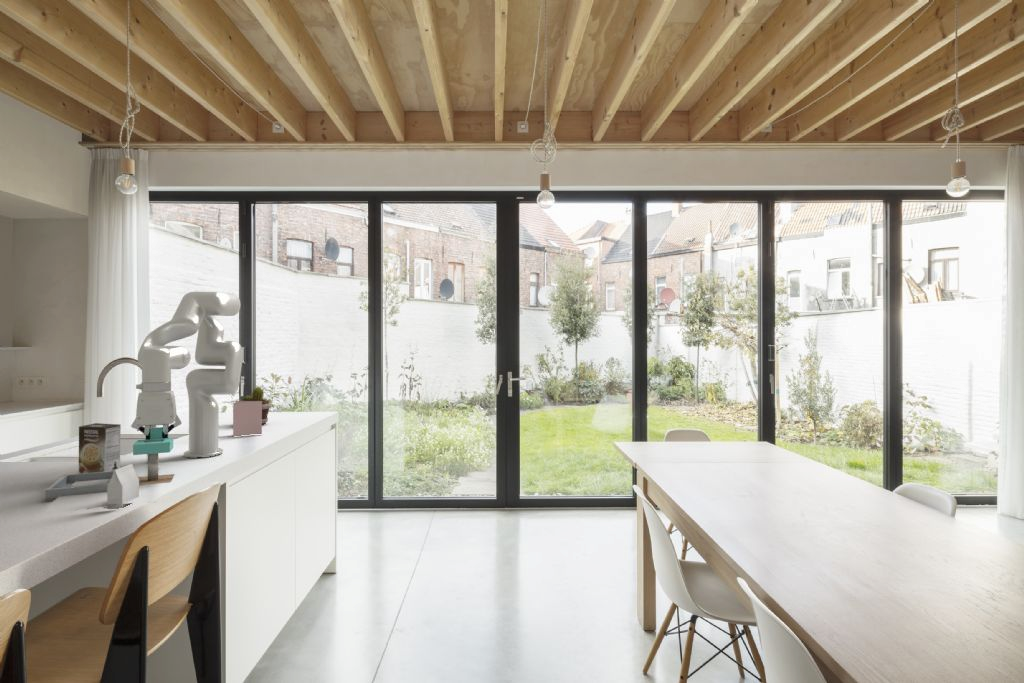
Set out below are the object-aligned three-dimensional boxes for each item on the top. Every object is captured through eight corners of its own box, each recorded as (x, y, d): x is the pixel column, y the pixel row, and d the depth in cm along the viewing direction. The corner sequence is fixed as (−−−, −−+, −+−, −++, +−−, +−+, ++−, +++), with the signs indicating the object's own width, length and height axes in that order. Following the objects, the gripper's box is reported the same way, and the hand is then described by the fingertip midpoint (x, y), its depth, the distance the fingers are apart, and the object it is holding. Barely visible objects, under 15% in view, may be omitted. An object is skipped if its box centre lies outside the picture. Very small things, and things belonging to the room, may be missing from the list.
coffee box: (76, 478, 167) (76, 426, 167) (94, 473, 174) (94, 422, 174) (104, 479, 166) (104, 427, 166) (121, 474, 173) (121, 423, 173)
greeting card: (262, 434, 241) (262, 400, 241) (255, 437, 234) (255, 402, 234) (236, 434, 241) (236, 400, 241) (228, 437, 234) (228, 402, 233)
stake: (135, 481, 165) (135, 440, 165) (174, 477, 169) (174, 438, 169) (129, 490, 156) (129, 446, 156) (170, 486, 160) (170, 444, 160)
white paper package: (138, 501, 147) (139, 463, 146) (122, 509, 140) (122, 470, 140) (124, 501, 146) (124, 463, 146) (107, 509, 140) (107, 470, 139)
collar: (140, 447, 169) (140, 428, 169) (174, 445, 173) (174, 426, 173) (133, 455, 157) (133, 434, 157) (169, 452, 161) (169, 431, 161)
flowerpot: (232, 424, 266) (233, 383, 266) (265, 421, 277) (265, 381, 276) (242, 428, 256) (242, 385, 255) (276, 425, 266) (276, 384, 266)
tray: (64, 485, 160) (64, 474, 160) (122, 480, 166) (122, 470, 166) (45, 501, 145) (45, 490, 145) (109, 495, 151) (109, 484, 151)
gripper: (122, 390, 161) (122, 452, 162) (186, 388, 169) (186, 447, 169) (126, 387, 168) (127, 446, 169) (188, 385, 175) (188, 442, 176)
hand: (157, 446), depth 169 cm, fingers closed on collar, 3 cm apart
